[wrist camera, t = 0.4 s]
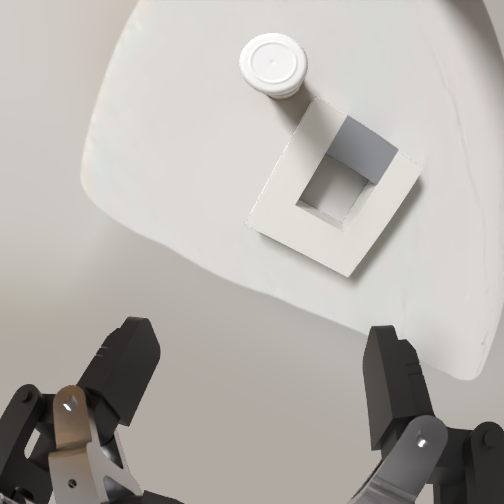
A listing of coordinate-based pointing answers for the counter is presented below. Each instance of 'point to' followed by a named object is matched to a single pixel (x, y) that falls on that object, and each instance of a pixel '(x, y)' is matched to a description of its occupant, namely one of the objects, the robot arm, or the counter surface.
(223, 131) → the counter surface
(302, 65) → the sprinkles bottle
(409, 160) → the housing
